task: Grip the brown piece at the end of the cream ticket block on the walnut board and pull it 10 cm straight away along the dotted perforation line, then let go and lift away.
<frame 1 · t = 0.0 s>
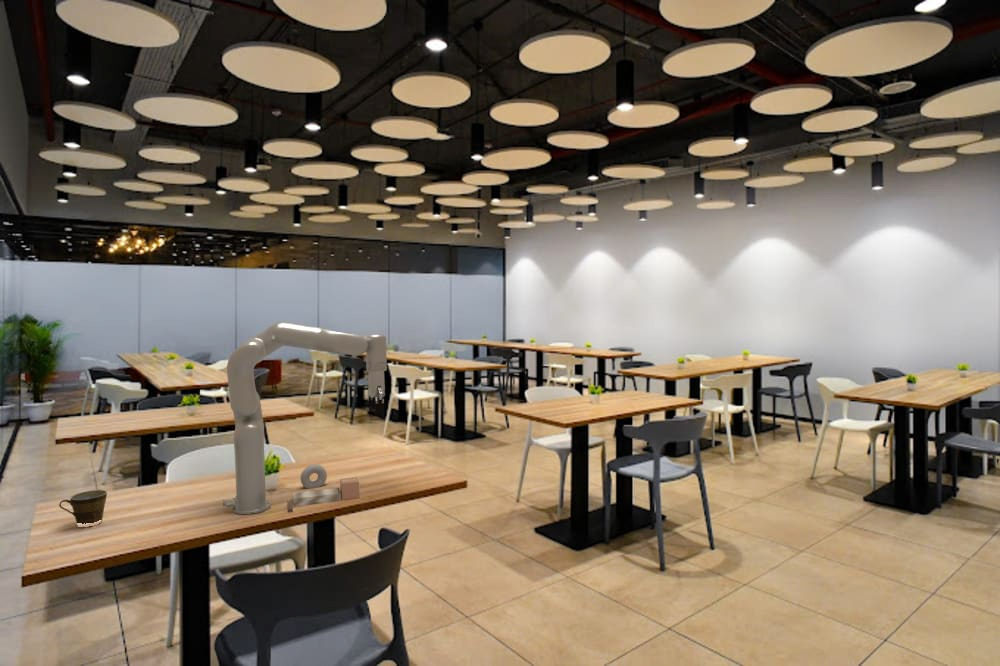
hand: (377, 411, 221), 31 cm above the table, tool pointing down, fingers open, 9 cm apart
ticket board: (340, 501, 213), on the table
donut: (314, 490, 227), on the table
ceramic cup: (84, 525, 192), on the table
brown piece: (349, 488, 214), point 4 cm above the table, slide at 0.0 cm
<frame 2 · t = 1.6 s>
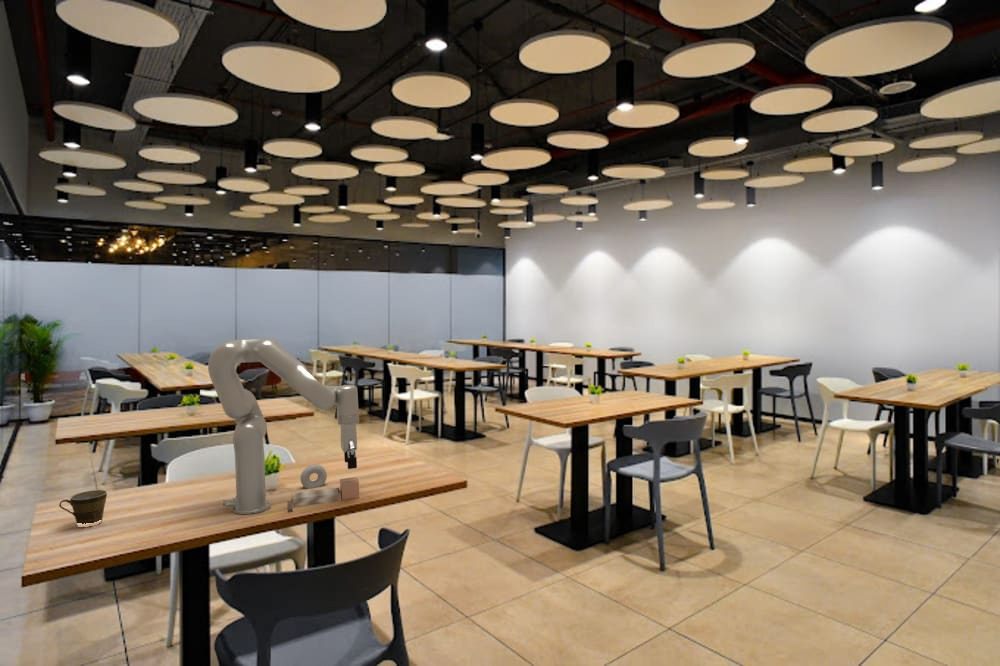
hand: (350, 465, 214), 13 cm above the table, tool pointing down, fingers open, 9 cm apart
nothing on the table moved.
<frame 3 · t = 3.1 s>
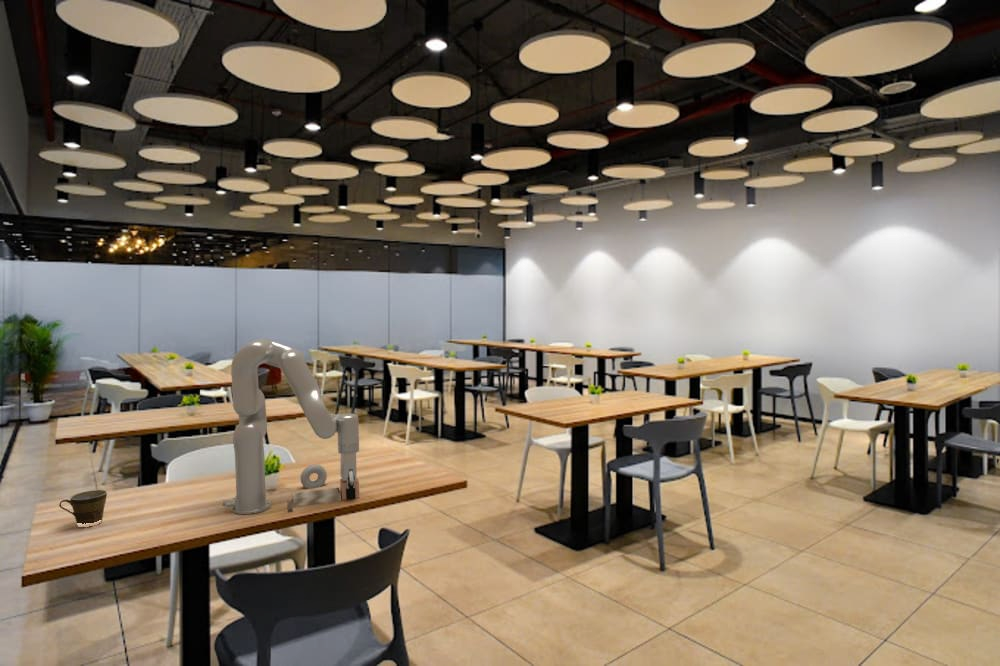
hand: (349, 495, 214), 2 cm above the table, tool pointing down, fingers closed on brown piece, 6 cm apart
brown piece: (349, 488, 214), point 4 cm above the table, slide at 0.0 cm, touching gripper
everything else where it was.
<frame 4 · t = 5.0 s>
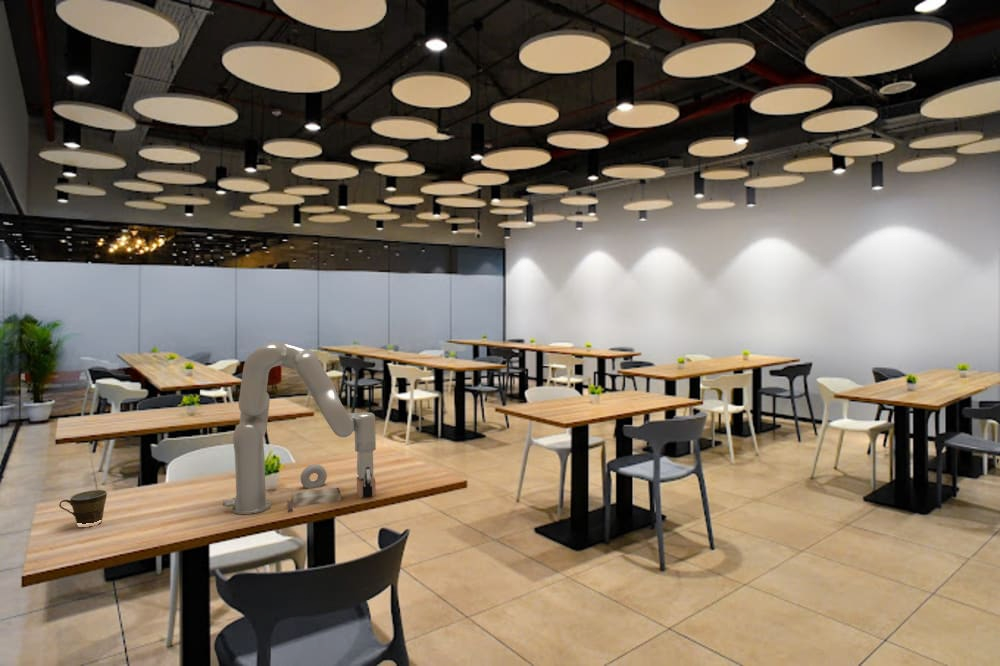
hand: (366, 493, 216), 2 cm above the table, tool pointing down, fingers closed on brown piece, 6 cm apart
brown piece: (366, 486, 216), point 4 cm above the table, slide at 6.0 cm, touching gripper
everything else where it was.
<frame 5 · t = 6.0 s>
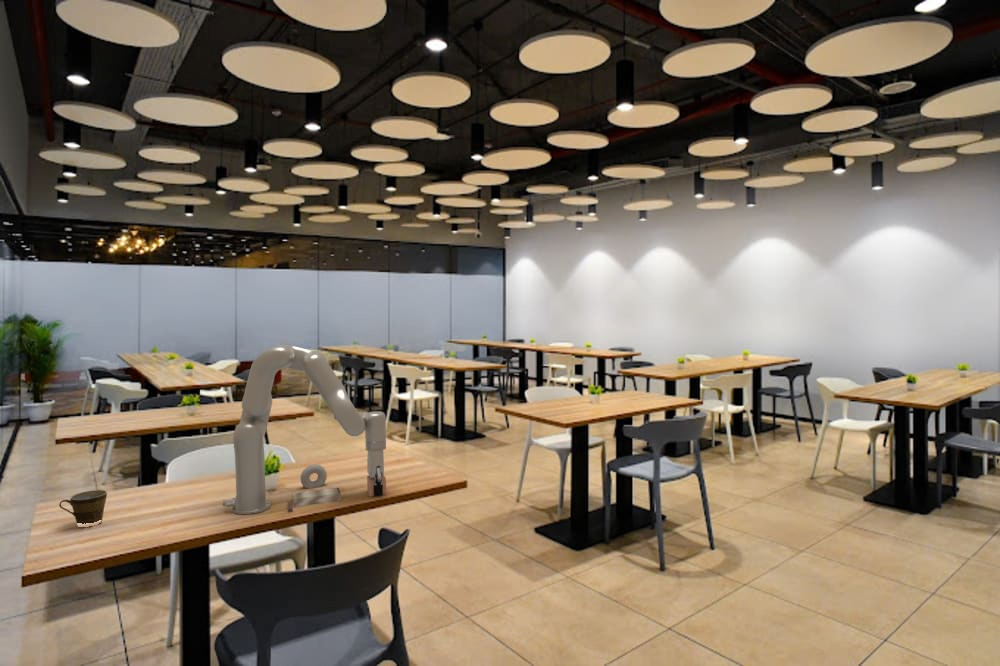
hand: (376, 492, 218), 2 cm above the table, tool pointing down, fingers closed on brown piece, 6 cm apart
brown piece: (376, 484, 218), point 4 cm above the table, slide at 9.9 cm, touching gripper
everything else where it was.
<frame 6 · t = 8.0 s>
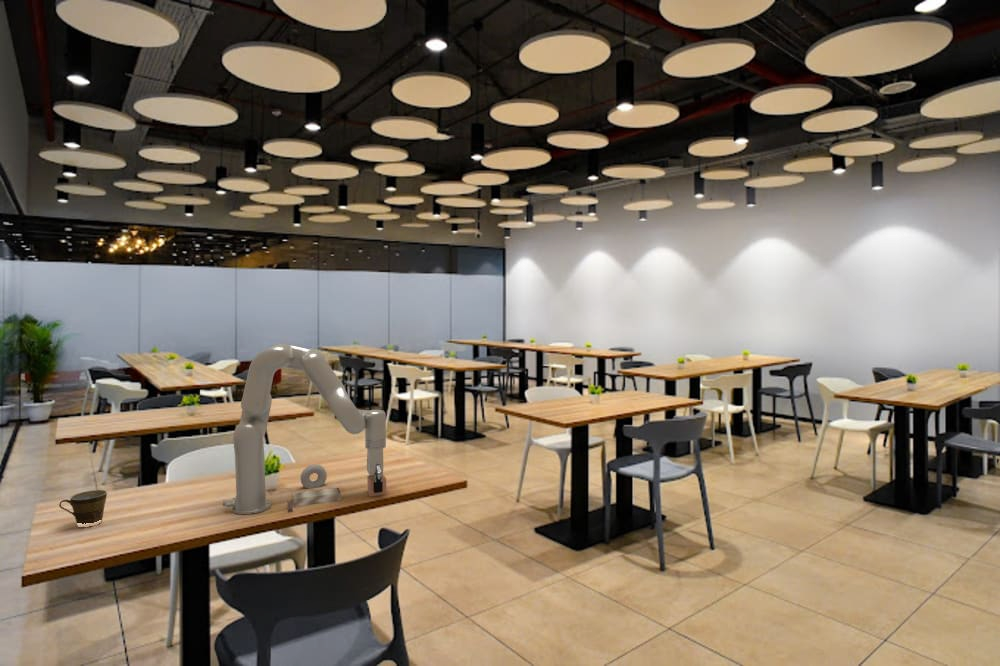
hand: (375, 488, 218), 3 cm above the table, tool pointing down, fingers open, 9 cm apart
brown piece: (376, 484, 218), point 4 cm above the table, slide at 10.0 cm
everything else where it was.
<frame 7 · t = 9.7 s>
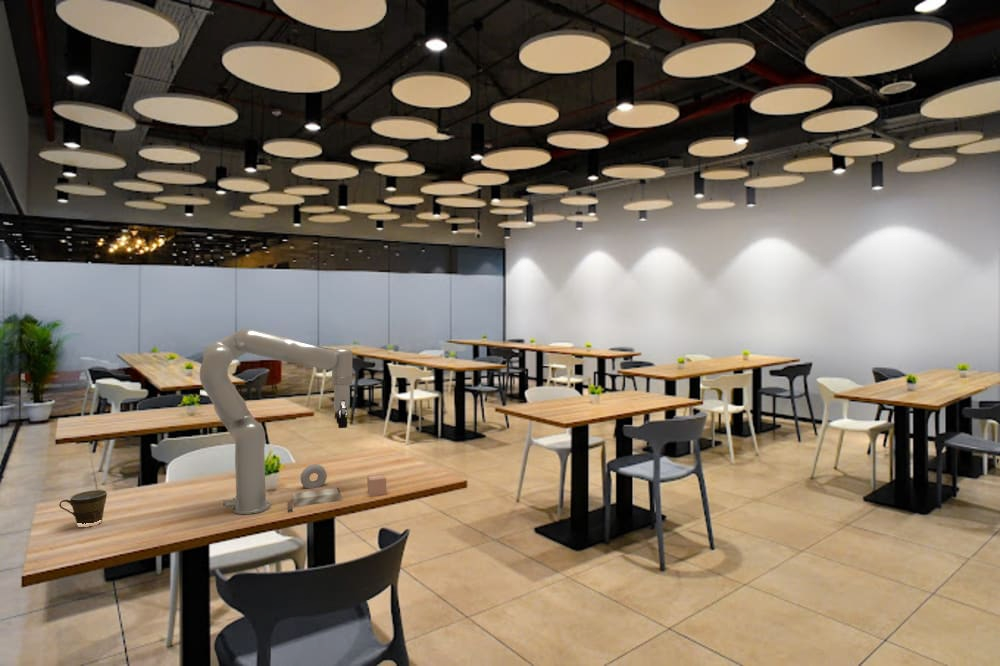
hand: (341, 425, 223), 26 cm above the table, tool pointing down, fingers open, 9 cm apart
nothing on the table moved.
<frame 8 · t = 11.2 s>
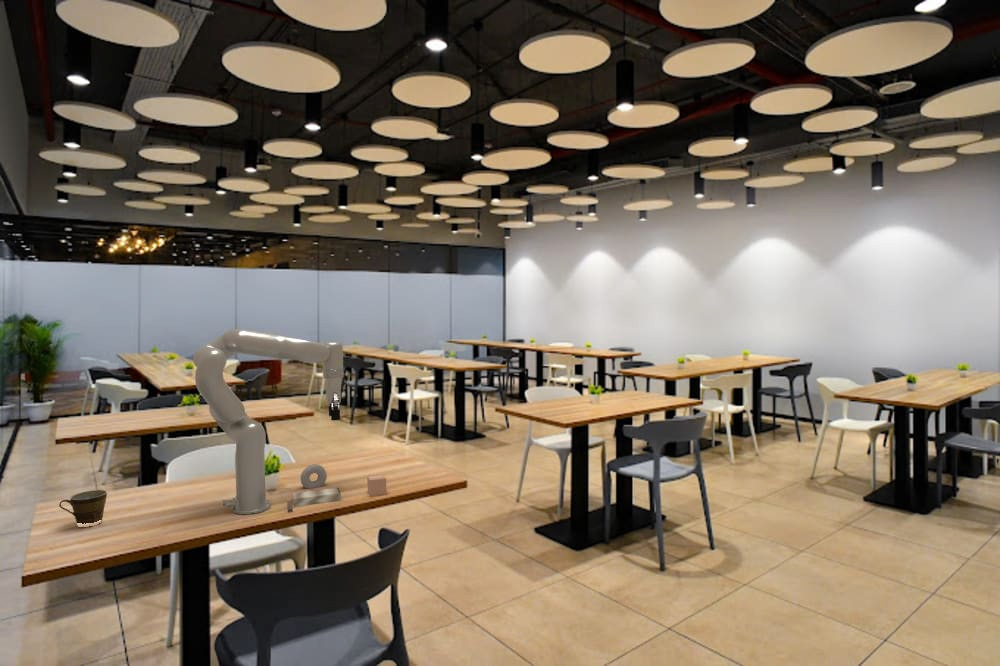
hand: (334, 417, 225), 28 cm above the table, tool pointing down, fingers open, 9 cm apart
nothing on the table moved.
at the end: brown piece slide at 10.0 cm; the gripper is holding nothing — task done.
